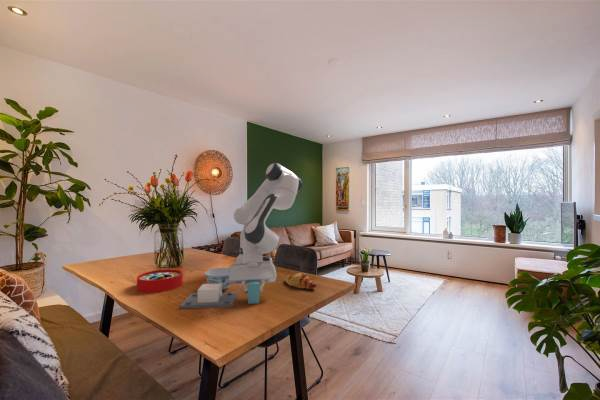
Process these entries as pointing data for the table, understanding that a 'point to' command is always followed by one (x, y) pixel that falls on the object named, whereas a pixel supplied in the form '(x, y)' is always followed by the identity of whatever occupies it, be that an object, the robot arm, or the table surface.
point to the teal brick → (253, 292)
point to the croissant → (300, 281)
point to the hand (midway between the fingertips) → (253, 291)
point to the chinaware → (218, 276)
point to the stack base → (221, 303)
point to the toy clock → (159, 280)
